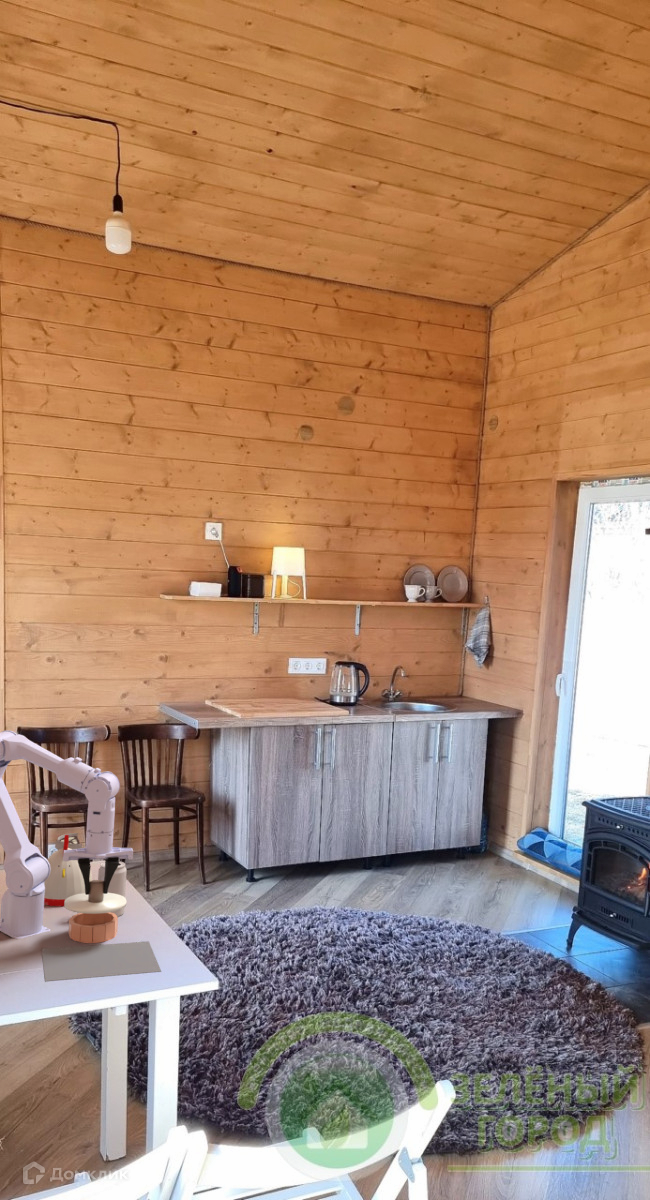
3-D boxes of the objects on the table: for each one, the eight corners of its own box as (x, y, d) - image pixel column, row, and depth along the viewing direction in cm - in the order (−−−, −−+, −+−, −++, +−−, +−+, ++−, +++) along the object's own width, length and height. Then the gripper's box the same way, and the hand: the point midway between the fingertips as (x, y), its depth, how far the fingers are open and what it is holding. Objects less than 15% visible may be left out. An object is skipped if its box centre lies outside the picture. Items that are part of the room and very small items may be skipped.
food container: (51, 870, 238) (53, 833, 238) (75, 869, 240) (77, 832, 240) (54, 884, 226) (57, 845, 226) (79, 883, 228) (82, 844, 229)
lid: (52, 903, 191) (53, 880, 191) (103, 892, 201) (104, 870, 201) (86, 917, 183) (88, 894, 183) (138, 905, 192) (139, 883, 193)
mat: (41, 951, 183) (41, 949, 183) (148, 944, 191) (148, 941, 191) (44, 984, 168) (45, 981, 168) (161, 974, 176) (161, 971, 176)
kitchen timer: (30, 907, 210) (34, 843, 210) (35, 888, 223) (39, 828, 223) (91, 905, 213) (95, 843, 213) (92, 887, 226) (96, 828, 226)
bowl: (59, 938, 192) (59, 920, 192) (93, 925, 200) (94, 907, 200) (92, 949, 186) (92, 930, 186) (126, 935, 195) (126, 916, 195)
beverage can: (128, 917, 206) (131, 865, 206) (102, 922, 202) (105, 869, 202) (117, 909, 211) (120, 858, 211) (91, 913, 207) (94, 862, 207)
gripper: (66, 835, 186) (62, 900, 186) (136, 833, 191) (132, 897, 191) (64, 827, 193) (60, 889, 193) (132, 825, 197) (128, 886, 197)
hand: (96, 892), depth 192 cm, fingers closed on lid, 3 cm apart
